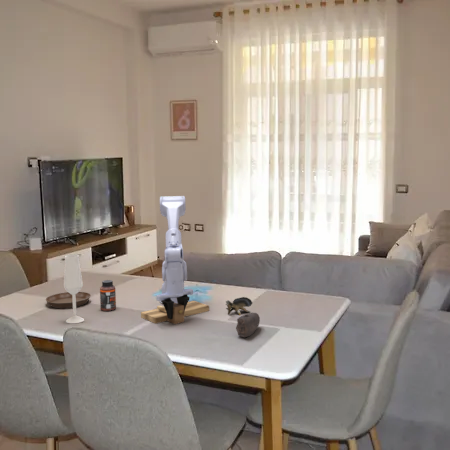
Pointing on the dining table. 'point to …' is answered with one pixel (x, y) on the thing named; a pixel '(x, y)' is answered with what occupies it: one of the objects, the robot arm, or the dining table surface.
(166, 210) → the robot arm
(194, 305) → the board
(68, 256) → the champagne flute
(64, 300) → the plant saucer
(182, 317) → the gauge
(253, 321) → the perforated stone tool
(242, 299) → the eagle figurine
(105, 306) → the supplement bottle
